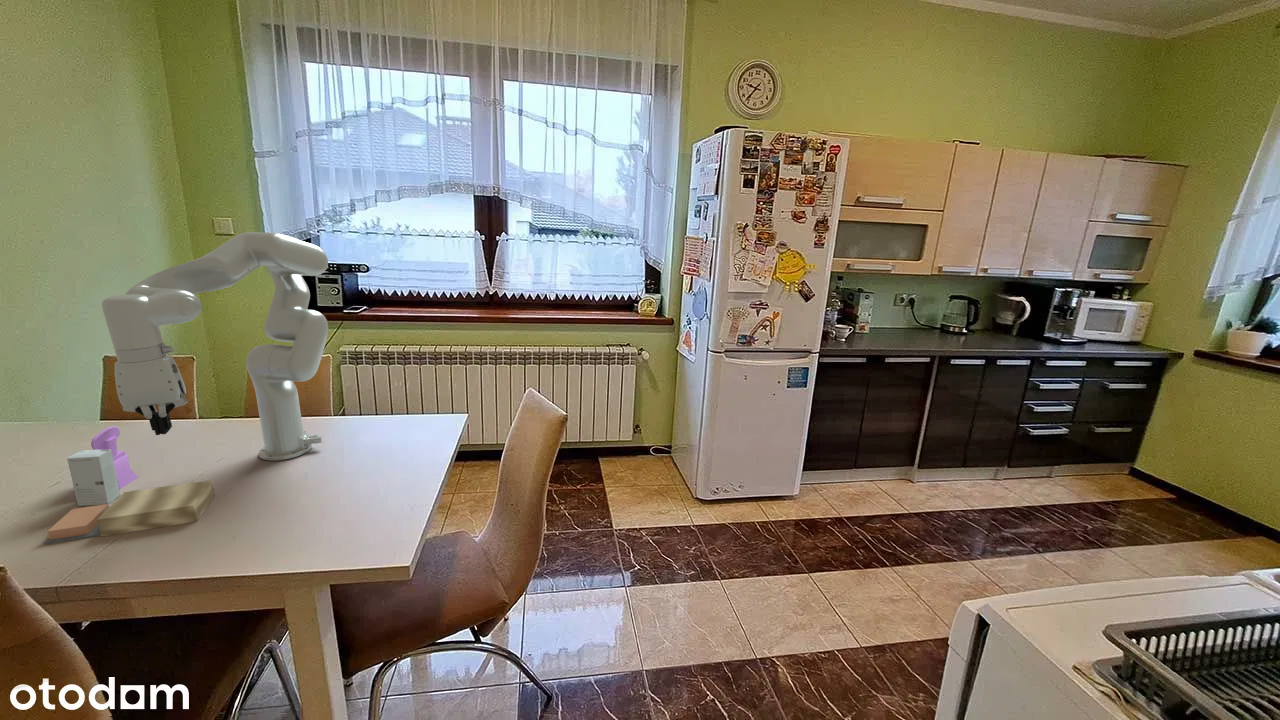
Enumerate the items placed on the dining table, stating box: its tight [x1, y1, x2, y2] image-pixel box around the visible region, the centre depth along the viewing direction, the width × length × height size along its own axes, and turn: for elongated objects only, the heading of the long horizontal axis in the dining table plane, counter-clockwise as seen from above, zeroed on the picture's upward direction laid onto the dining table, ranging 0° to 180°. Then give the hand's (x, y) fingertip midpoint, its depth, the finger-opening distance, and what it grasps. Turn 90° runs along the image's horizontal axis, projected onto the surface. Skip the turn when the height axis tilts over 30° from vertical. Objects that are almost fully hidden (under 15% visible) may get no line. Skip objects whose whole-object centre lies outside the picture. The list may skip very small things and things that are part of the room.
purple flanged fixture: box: [90, 425, 139, 490], centre depth 126 cm, size 8×9×15 cm
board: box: [97, 480, 215, 537], centre depth 116 cm, size 16×12×4 cm
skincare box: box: [66, 449, 121, 507], centre depth 119 cm, size 6×4×12 cm
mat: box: [43, 525, 101, 545], centre depth 111 cm, size 9×11×1 cm
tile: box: [47, 503, 110, 540], centre depth 111 cm, size 6×9×2 cm, turn 24°
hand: (163, 432), depth 114 cm, fingers closed
